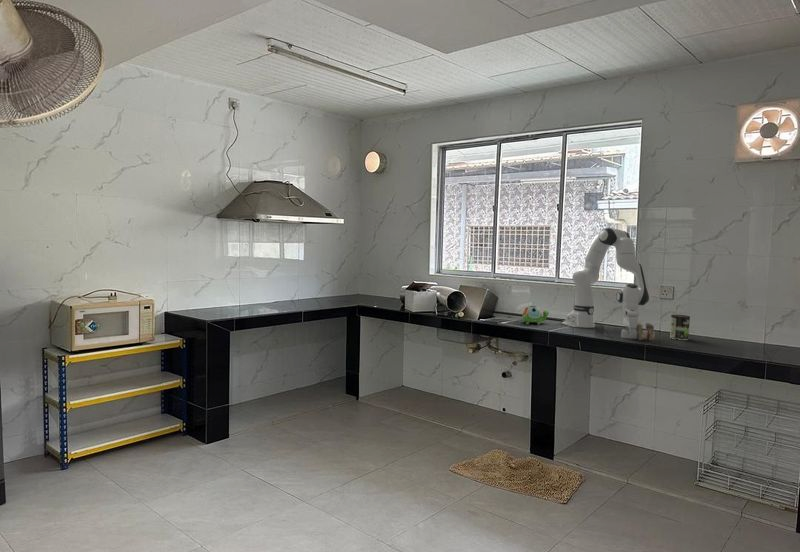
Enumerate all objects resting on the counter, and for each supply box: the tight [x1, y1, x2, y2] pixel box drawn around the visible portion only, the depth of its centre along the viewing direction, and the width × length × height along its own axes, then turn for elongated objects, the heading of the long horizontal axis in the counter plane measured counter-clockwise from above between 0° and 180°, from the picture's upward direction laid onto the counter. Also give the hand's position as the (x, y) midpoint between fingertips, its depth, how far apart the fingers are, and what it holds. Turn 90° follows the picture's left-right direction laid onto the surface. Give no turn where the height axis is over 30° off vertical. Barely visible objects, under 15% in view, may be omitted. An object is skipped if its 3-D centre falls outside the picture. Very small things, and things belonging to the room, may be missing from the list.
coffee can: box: [669, 314, 691, 341], centre depth 335 cm, size 10×10×14 cm
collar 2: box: [644, 322, 655, 341], centre depth 333 cm, size 2×11×8 cm, turn 169°
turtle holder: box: [521, 305, 550, 325], centre depth 382 cm, size 12×18×12 cm
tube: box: [620, 329, 656, 341], centre depth 334 cm, size 18×5×5 cm, turn 79°
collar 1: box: [634, 322, 644, 341], centre depth 334 cm, size 2×11×8 cm, turn 169°
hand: (629, 333), depth 335 cm, fingers open, 8 cm apart
